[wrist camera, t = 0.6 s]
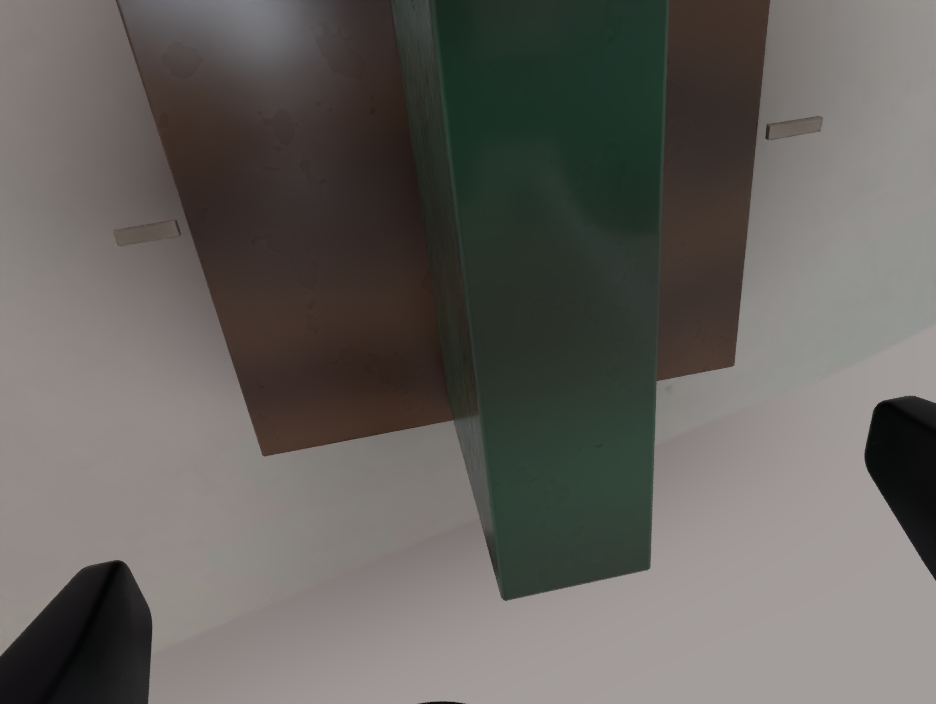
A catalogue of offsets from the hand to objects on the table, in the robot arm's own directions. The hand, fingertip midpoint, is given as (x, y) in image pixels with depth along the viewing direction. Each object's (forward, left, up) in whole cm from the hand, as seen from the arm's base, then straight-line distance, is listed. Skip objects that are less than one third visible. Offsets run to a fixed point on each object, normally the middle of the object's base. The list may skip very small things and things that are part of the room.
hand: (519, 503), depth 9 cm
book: (0, -2, -11) cm, 11 cm away
